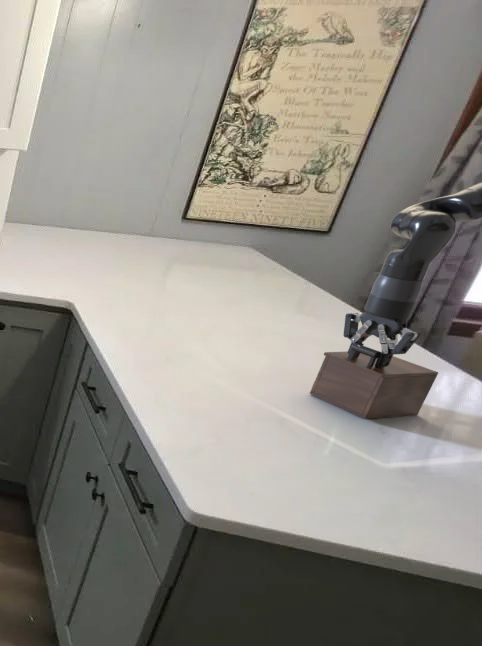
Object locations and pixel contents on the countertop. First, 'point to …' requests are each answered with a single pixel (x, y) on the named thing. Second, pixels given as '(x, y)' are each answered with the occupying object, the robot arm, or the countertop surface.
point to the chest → (370, 391)
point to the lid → (368, 362)
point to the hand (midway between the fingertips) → (366, 361)
